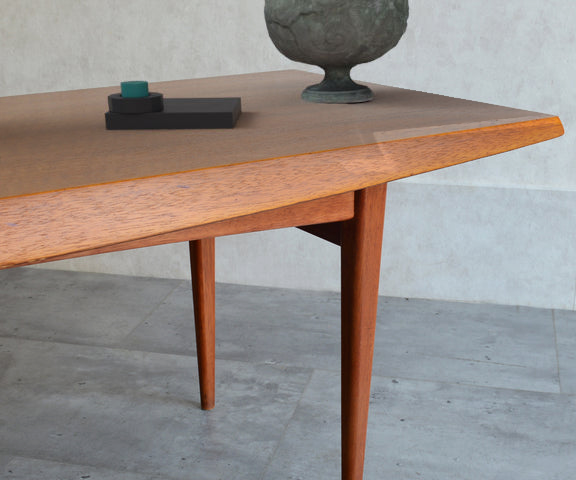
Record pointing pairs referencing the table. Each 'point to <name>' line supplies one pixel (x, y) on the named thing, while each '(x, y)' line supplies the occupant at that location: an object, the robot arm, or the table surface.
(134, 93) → the button
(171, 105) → the scale
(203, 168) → the table surface
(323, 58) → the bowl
